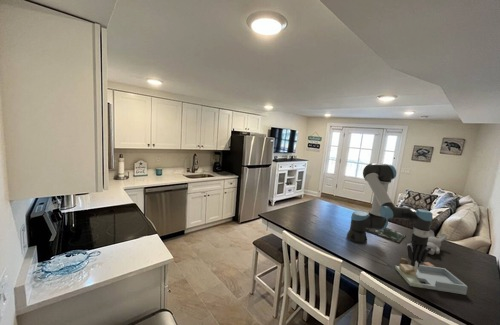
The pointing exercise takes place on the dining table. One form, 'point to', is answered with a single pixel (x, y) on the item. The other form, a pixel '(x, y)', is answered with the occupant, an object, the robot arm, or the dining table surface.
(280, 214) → the dining table surface
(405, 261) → the walnut dowel
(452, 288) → the tray
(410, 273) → the maple block
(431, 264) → the terracotta block
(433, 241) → the toy
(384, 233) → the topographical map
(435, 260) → the dining table surface
